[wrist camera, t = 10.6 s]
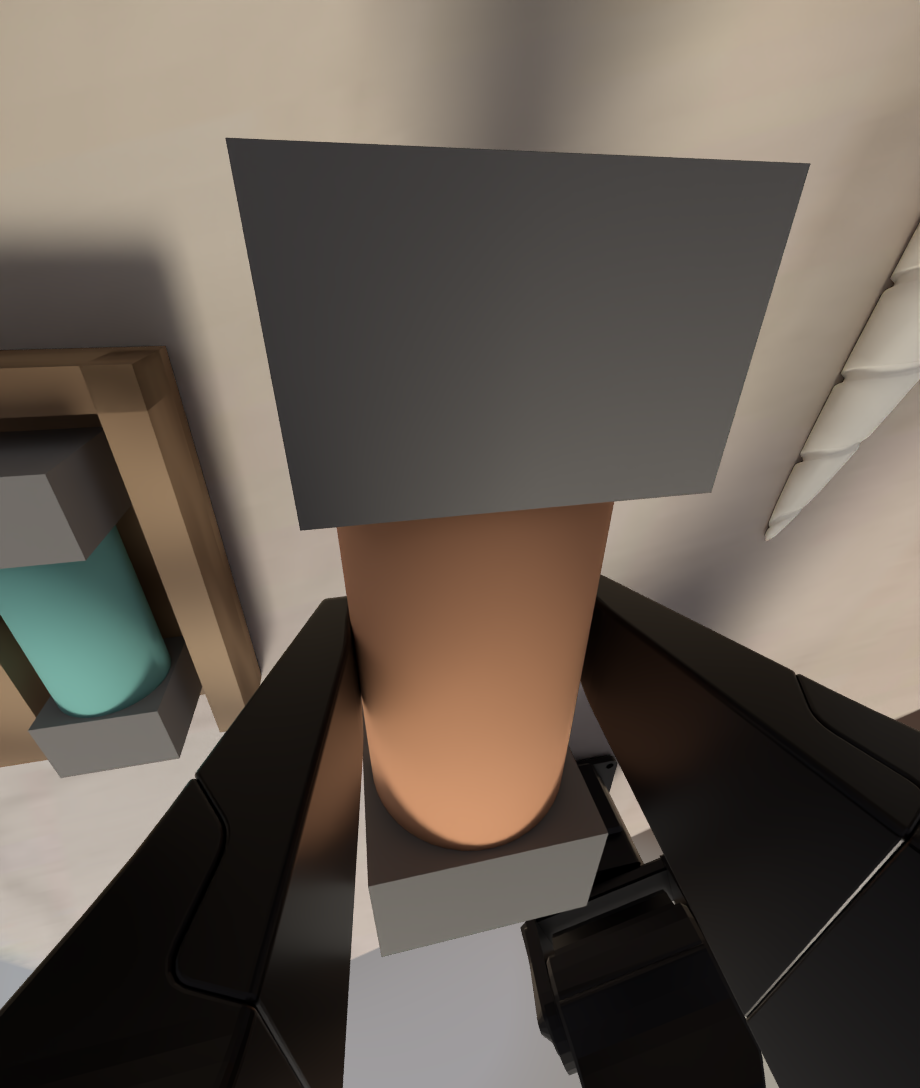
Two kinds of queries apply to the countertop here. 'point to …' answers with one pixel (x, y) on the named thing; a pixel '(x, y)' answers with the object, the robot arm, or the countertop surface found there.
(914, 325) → the unicorn horn
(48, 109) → the countertop surface
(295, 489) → the orange capped cylinder
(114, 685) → the teal capped cylinder
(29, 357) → the wooden tray
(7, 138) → the countertop surface
